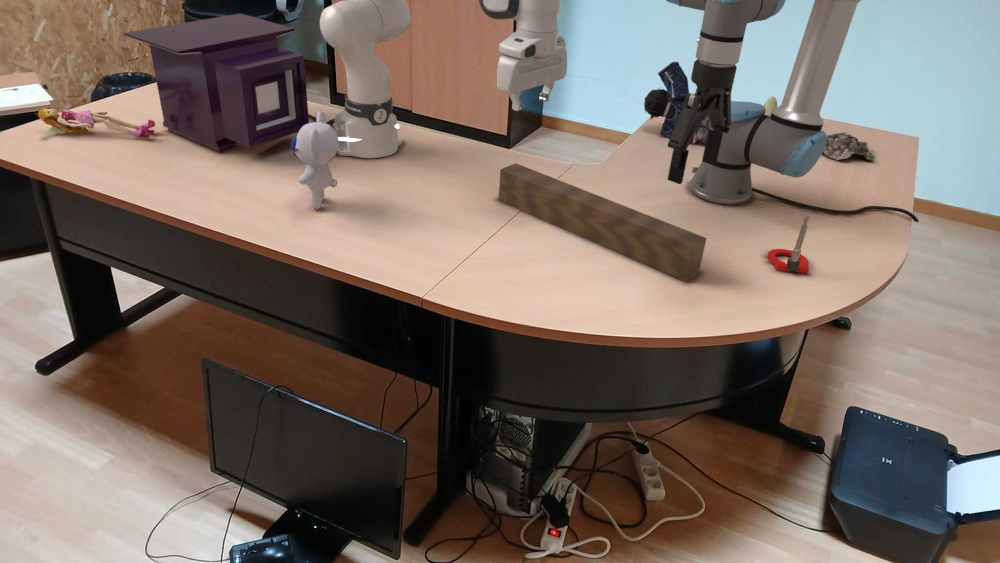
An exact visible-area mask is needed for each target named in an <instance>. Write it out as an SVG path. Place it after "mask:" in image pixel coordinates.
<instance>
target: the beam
mask: <svg viewBox="0 0 1000 563" xmlns="http://www.w3.org/2000/svg"><path fill="white" fill-rule="evenodd" d="M498 201H499V202H501V203H504V204H506V205H508V206H511V207H513V208H515V209H517V210H519V211H522V212H524V213H526V214H529V215H531V216H533V217H536V218H538V219H540V220H543V221H545V222H547V223H549V224H551V225H554V226H556V227H558V228H561V229H563V230H566V231H568V232H570V233H572V234H575V235H577V236H579V237H582V238H583V239H585V240H589V241H591V242H593V243H596V244H598V245H600V246H602V247H605V248H607V249H609V250H611V251H614V252H615V253H618V254H620V255H623V256H625V257H627V258H630V259H631V260H633V261H637V262H639V263H641V264H643V265H646V266H648V267H650V268H653V269H655V270H657V271H660V272H661V273H664V274H666V275H669V276H671V277H674V278H676V279H678V280H680V281H683V282H685V283H686V282H687V281H689V280H690V279H692V278H694V277H695V276H696V275H697V274H699V272H700V268H701V264H702V260H703V256H704V252H705V247H706V244H707V237H705V236H702V235H699V234H697V233H695V232H692V231H689V230H687V229H685V228H682V227H680V226H676V225H674V224H672V223H670V222H666V221H665V220H662V219H659V218H656V217H653V216H651V215H649V214H646V213H645V212H644V213H643V212H641V211H639V210H637V209H633V208H631V207H628V206H626V205H624V204H621V203H618V202H616V201H613V200H612V199H611V200H610V199H609V198H606V197H603V196H601V195H598V194H596V193H593V192H591V191H588V190H586V189H583V188H580V187H578V186H575V185H573V184H570V183H567V182H565V181H562V180H560V179H557V178H555V177H553V176H549V175H546V174H544V173H543V172H539V171H537V170H534V169H532V168H530V167H527V166H525V165H522V164H520V163H516V162H515V163H512V164H510V165H508V166H505V167H503V168H500V170H499V187H498Z"/></svg>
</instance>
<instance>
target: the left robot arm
mask: <svg viewBox="0 0 1000 563" xmlns="http://www.w3.org/2000/svg"><path fill="white" fill-rule="evenodd" d="M478 3H479V6H480V8H481V11H482V12H483V14H485V15H486V16H487V17H488V18H490V19H492V20H493V19H494V20H500V21H502V20H508V19H509V20H510V19H511V20H514V21H515V22H516V28H515V31H513V32H512V33H511V34H510V35H509V36H508V37H507V38H505V39H504V40H502V41H501V42H500V43H499V45H498V52H499V54H501V55H500V57H499V58H498V59H499V60H498V61H497V71H496V87H497V89H498V91H499V92H501V93H504V94H508V95H509V97H510V100H511V102H512V103H511V109H512V110H513V111H515V112H518V111H521V110H523V104H524V102H523V101H521V99H520V96H521V94H522V92H523V91H527V90H530V89H533V88H536V87H539V86H543V88H542V90H541V92H539V97H538V99H539V102H542V103H546V102H548V101H550V96H551V95H550V94H551V92H552V91H553V89H554V86H555V82H557V81H559V80H560V81H561V80H563V79H565V77H566V75H567V70H568V51H567V48H566V47H567V46H566V45H567V44H566V43H567V42H566V40H565V39H564V38H563V36H561V35H558V34H559V23H558V16H559V14H560V13H559V12H560V10H561V6H562V0H478ZM411 19H412V16H411V10H410V7H409V5H408V3H407V2H406V0H340V1H338V2H335V3H333V4H331V5H329V6H327V7H325V8H324V9H323V10H322V11H321V14H320V17H319V29H320V33H321V36H322V38H323V40H325V42H326V43H327V44H328V45H329V46H330V47H332V48H333V49H334V50H335V51H336V52H337V53H338V55H339V56H340V59H341V60H342V63H343V66H344V70H345V79H346V90H347V94H345V95H344V97H345V98H344V100H345V101H344V109H343V110H342V111H341V112H339V114H337V115H336V116H335V117H334V118H331V119H329V120H328V121H326V122H325V123H326V124H328V125H330V126H331V127H332V128H333V129H334V131H335V132H336V134H337V136H338V139H339V148H338V151H337V153H336V154H338V156H342V157H343V156H344V157H355V158H360V159H379V158H385V157H389V156H392V155H394V154H395V153H396V152H397V151H398V149H399V147H400V146H401V145H402V144H403V139H401V138H399V133H398V129H400V124H398V122H397V121H398V120H397V116H396V115H395V114H394V113H393V109H394V108H393V107H394V102H393V97H392V96H391V71H390V68H389V66H388V65H387V63H385V61H383V60H381V59H380V58H378V57H377V54H376V50H375V44H377V43H382V42H383V43H384V42H387V41H391V40H392V41H393V40H394V39H397V38H398V37H400V36H402V35H403V34H405V33H406V32H408V30H409V28H410V26H411ZM308 116H309V119H312V120H314V122H316V119H317V116H314V115H312V114H309V113H308Z"/></svg>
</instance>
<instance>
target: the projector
mask: <svg viewBox="0 0 1000 563" xmlns="http://www.w3.org/2000/svg"><path fill="white" fill-rule="evenodd" d="M294 31H295V28H294V27H292V26H287V25H283V24H279V23H276V22H272V21H269V20H264V19H262V18H259V17H256V16H255V17H254V16H252V15H247V14H244V13H235V14H230V15H224V16H217V17H212V18H205V19H200V20H194V21H188V22H181V23H175V24H169V25H163V26H157V27H151V28H146V29H145V28H144V29H139V30H134V31H128V32H123V36H125V37H127V38H130V39H133V40H136V41H138V42H142V43H145V44H148V45H149V50H150V54H151V60H152V66H153V71H154V75H155V76H154V77H155V82H156V87H157V92H158V97H159V102H160V107H161V113H162V118H163V122H162V126H163V127H165V128H166V129H167V131H168V132H170V133H172V134H175V135H177V136H179V137H182V138H184V139H187V140H189V141H191V142H193V143H196V144H197V145H200V146H203V147H205V148H207V149H209V150H212V151H215V152H217V153H219V154H220V153H224V152H227V151H229V150H233V149H235V148H237V144H240V145H242V146H245V147H247V148H249V149H250V148H253V147H256V146H259V145H262V144H266V143H269V142H271V141H275V140H278V139H281V138H285V137H287V136H289V135H293V134H296V133H299V131H300V129H301V128H302V127H303V126H304V125H306V124H308V123H310V117H309V116H308V114H309V105H308V94H307V93H308V92H307V80H306V79H307V78H306V68H305V56H304V54H303V53H302V54H301V53H297V52H296V51H295V52H294V51H291V50H288V49H285V48H282V47H279V44H278V40H277V38H280V37H282V36H286V35H287V34H291V33H292V32H294Z"/></svg>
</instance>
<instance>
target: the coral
mask: <svg viewBox="0 0 1000 563" xmlns="http://www.w3.org/2000/svg"><path fill="white" fill-rule="evenodd" d="M826 141H827V143H826V146H825V148H824V150H823V152H822V154H823V153H824V155H825V156H827V157H828V158H830V159H832V160H835V161H839V160H840V161H841V160H844V159H848V158H851V157H852V155H853V154H854V155H857V154H859V155H860V156H861V158H863V159H865V160H866V161H871V162H874V160H875V159H874V158H875V155H874V154H873V153H872V152H871V151H870V149H869V147H868V142H867V141H859V139H858V137H855V136H853V135H852V134H851V133H849V132H848V131H846V132H844V131H843V132H836V133H830V134H827V140H826ZM873 157H874V158H873Z"/></svg>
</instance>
